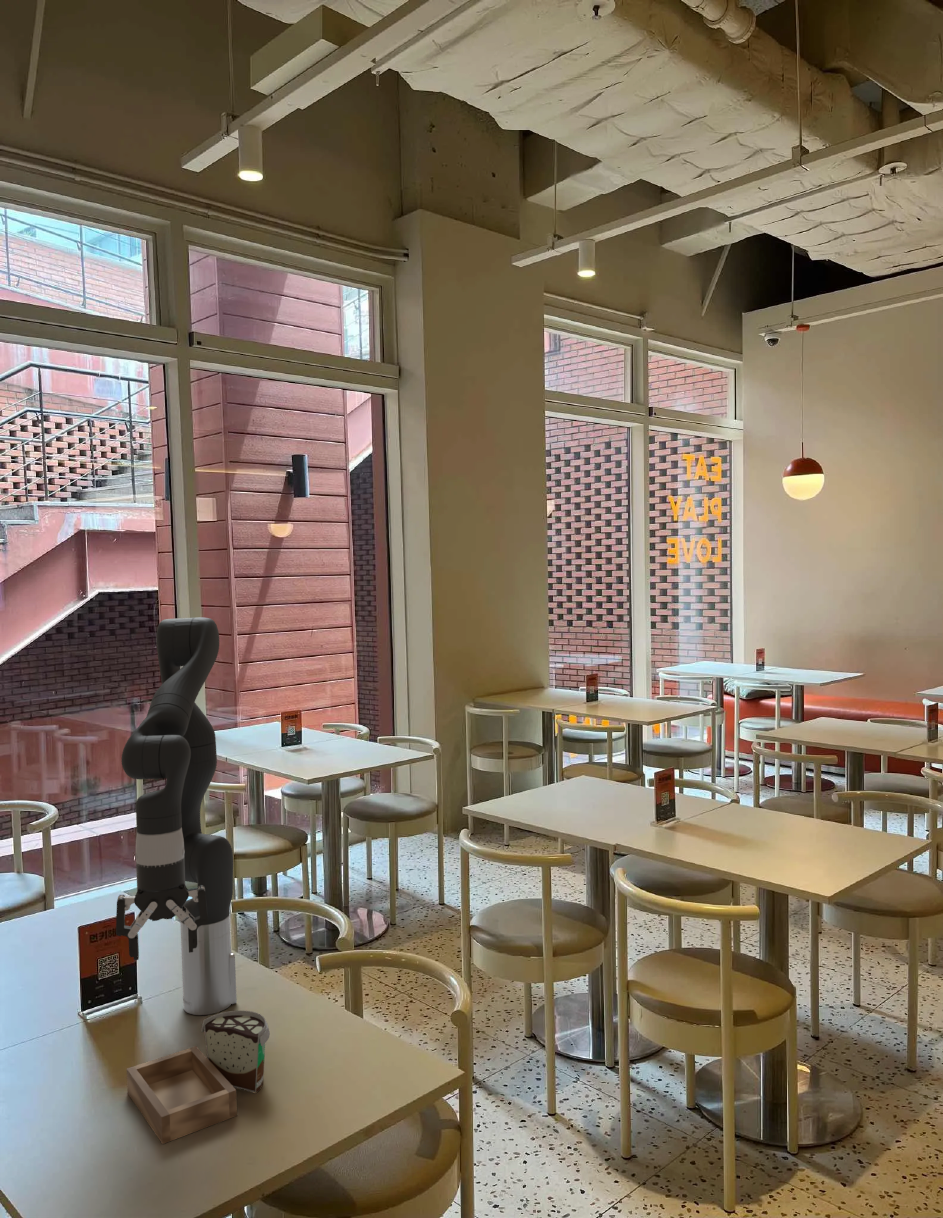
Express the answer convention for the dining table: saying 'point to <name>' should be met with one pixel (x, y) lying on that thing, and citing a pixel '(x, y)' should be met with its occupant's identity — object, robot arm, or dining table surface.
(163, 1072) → the wooden box
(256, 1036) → the food container
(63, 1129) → the dining table surface
